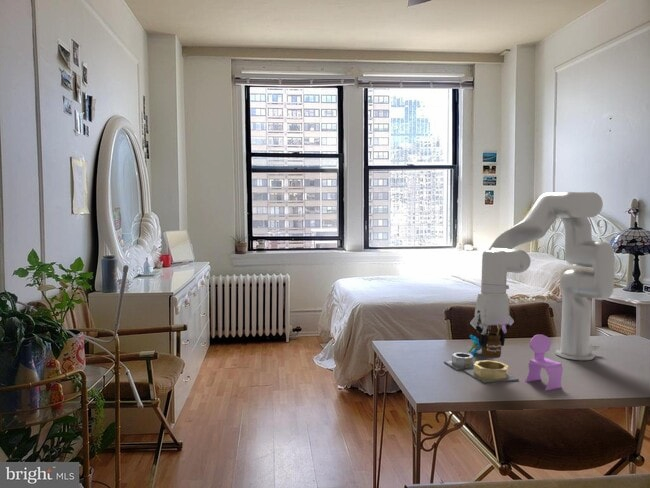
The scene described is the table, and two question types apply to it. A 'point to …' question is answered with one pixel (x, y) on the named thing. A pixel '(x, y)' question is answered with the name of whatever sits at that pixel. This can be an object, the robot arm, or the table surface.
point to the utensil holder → (492, 345)
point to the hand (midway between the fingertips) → (491, 344)
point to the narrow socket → (461, 361)
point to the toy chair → (544, 363)
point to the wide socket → (491, 372)
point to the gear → (475, 345)
